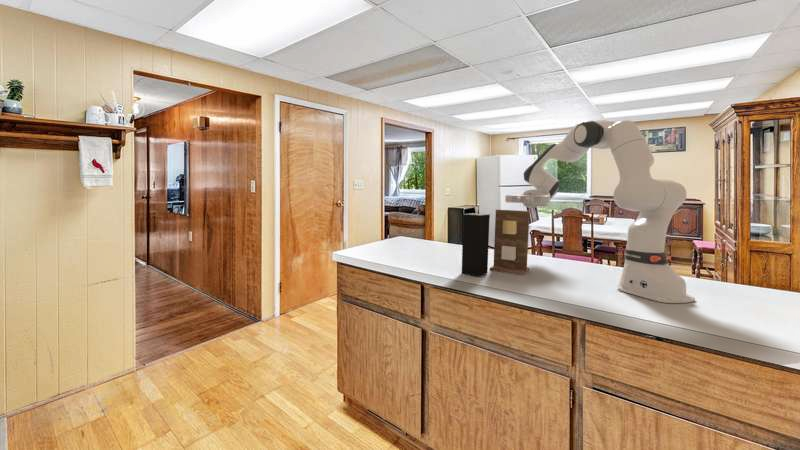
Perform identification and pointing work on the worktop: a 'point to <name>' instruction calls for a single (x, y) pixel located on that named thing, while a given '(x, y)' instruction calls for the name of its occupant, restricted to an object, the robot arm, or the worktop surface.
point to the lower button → (508, 253)
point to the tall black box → (475, 243)
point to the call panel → (511, 242)
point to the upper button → (509, 227)
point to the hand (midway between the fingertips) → (523, 199)
